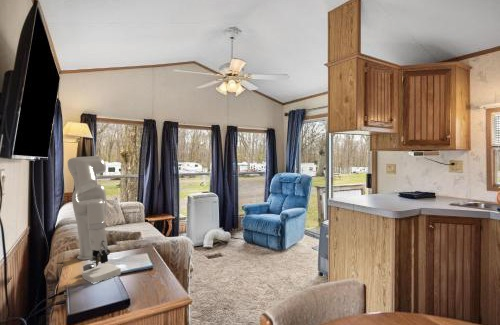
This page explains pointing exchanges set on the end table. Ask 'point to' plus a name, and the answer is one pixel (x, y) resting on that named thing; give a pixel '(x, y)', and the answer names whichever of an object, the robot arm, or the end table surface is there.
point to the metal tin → (88, 267)
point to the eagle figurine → (98, 258)
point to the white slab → (101, 273)
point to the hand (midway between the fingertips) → (100, 260)
